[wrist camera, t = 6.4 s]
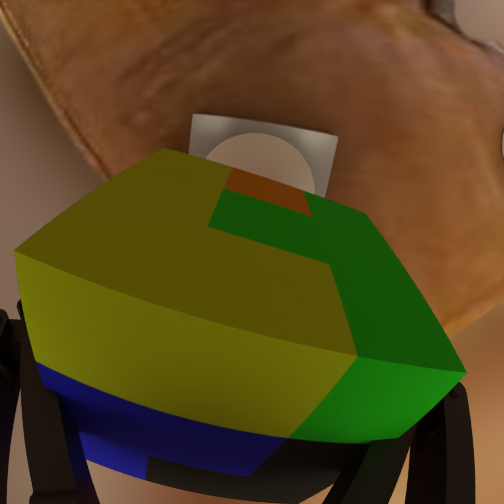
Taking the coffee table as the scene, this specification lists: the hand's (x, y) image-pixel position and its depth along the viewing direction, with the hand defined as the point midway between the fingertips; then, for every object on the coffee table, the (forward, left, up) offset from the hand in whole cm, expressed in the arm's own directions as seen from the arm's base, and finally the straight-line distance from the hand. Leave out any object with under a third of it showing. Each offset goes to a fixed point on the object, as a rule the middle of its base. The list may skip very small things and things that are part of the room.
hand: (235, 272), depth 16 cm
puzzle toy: (0, 0, -1) cm, 1 cm away
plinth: (0, +1, -16) cm, 16 cm away
